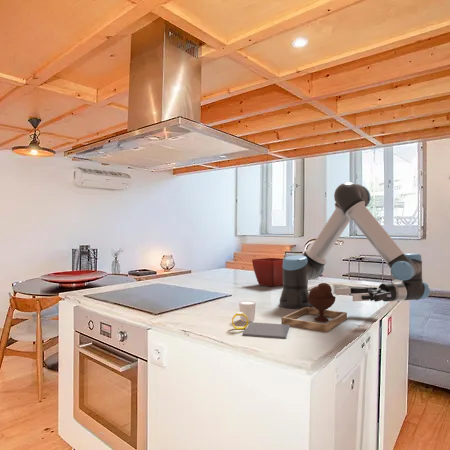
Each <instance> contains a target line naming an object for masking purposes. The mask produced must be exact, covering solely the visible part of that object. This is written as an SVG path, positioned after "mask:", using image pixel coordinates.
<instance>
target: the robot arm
mask: <svg viewBox="0 0 450 450" xmlns="http://www.w3.org/2000/svg"><path fill="white" fill-rule="evenodd" d="M333 198H334V201H335V203H334V208H335V209H334V211H333V212H332V214H331V216H330V217H329V218H328V220H327V222H326V223H325V225H324V227H323V228H322V230H321V231H320V233H319V234H318V236H317V238H316V239H315V241H314V242H313V244H312V245H311V246H310V248H307V249H305V250H304V253H303V254H302V255H301V254H300V255H299V254H298V255H288V256H285V257H284V258H282V259H283V265H282V267H283V285H282V291H281V294H280V296H279V306H281V307H282V308H288V309H302V308H304V307H309V308H312V307H313V306H312V305H311V304H310V303H309V301H308V299H307V296H308V295H309V292H310V291H309V290H308V288H309V287H308V286H309V285H308V283H309V282H308V281H312V280H316V279H318V278H319V277H320V276H321V275H322V274H323V273H324V270H325V265H326V264H327V260H326V258H327V256H328V254H329V253H330V252H331V251H332V249H333V247H334V246H335V245H336V242H337V241H338V240H339V239H340V237H341V236H342V234H343V232H344V231H345V229H346V228H347V226H348V225H349V223H350V222H351V220H352V222H353V223H354V224H355V225H356V227H357V228H358V229H359V231H361V233H362V234H363V235H364V237H365V238H366V240H368V242H369V243H370V244H371V246H372V247H373V248H374V249H375V251H376V252H377V253H378V255H379V256H380V257H381V258H382V259H383V261H384V262H385V263H386V264H387V266H388V267H389V268H390V273H391V276H392V277H393V278H394V279H396V280H397V282H383V283H380V284H379V286H378V287H377V286H376V287H375V286H374V287H372V286H365V287H364V286H348V287H339V288H337V287H335V295H336V296H343V295H349V296H351V295H352V302H363V301H365V302H366V301H367V302H368V301H371V302H375V303H376V302H380V301H383V302H384V303H385V302H396V303H400V301H418V300H424V299H427V298H428V297H429V296H430V293H431V291H430V288H429V285H428V283H426V282H425V281H424V280H423V260H422V255H421V254H420V253H415V252H414V253H411V252H410V253H409V252H408V253H404V252H403V250H402V249H401V248H400V247H399V246H398V245H397V243H396V242H395V241H394V240H393V238H392V237H391V236H390V235H389V234H388V232H387V231H386V230H385V228H383V226H382V225H381V223H379V221H378V220H377V219H376V217H375V216H374V215H373V214H372V213H371V211H370V210H369V209H368V208H367V207H368V206H369V204H370V202H371V200H372V199H371V193H370V191H369V190H368V187H365V186H363V185H362V184H359V183H353V182H343V183H341V184H339V185H338V186H337V187H336V189H335V190H334V194H333ZM398 281H399V282H398Z"/></svg>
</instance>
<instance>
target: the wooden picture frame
mask: <svg viewBox="0 0 450 450" xmlns="http://www.w3.org/2000/svg"><path fill="white" fill-rule="evenodd" d="M306 314H309V315H316V316H319V310H318V309H316V308H314V307H304V308H299V309H298V310H296V311H292V312H291V313H289V314H286V315H284V316H282V317H281V318H280V319H281V320H280V321H281V323H280V324H287V325H290V327H291V326H292V327H298V328H303V329H309V330H314V331H321V332H326V333H327V332H329V331H330V330H332V329H333V328H335V327H336V326H338V325H339V324H341V323H343V322H344V321H346V320H347V319H348V312H344V311H337V310H331V309H326V310H324V316H325V317H329V318H332V319H331V320H329V321H327V322H325V323H323V322H317V321H310V320H308V321H307V320H304V319H303V320H302V319H299V317H303V316H304V315H306Z"/></svg>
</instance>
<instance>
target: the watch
mask: <svg viewBox="0 0 450 450" xmlns="http://www.w3.org/2000/svg"><path fill="white" fill-rule="evenodd" d="M242 315H243V316H245V317H246V319H247V322H246V324H245V325H244V326H243V327H241V326H239V327H237V326H236V325H235V324H234V319H235V317H237V316H239V317H240V316H242ZM231 324H232V326H233V328H234V329H235V330H246V328H247V327H248V325H249V322H248V318H247V316H246V315H245V314H244V313H243V312H240V311H237V312H235V314H234V315H233V317H232V319H231Z"/></svg>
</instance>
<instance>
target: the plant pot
mask: <svg viewBox="0 0 450 450" xmlns="http://www.w3.org/2000/svg"><path fill="white" fill-rule="evenodd" d="M283 259H284V258H276V257H267V258H266V257H265V258H254V259H253V258H252V259H251V261H252V262H251V263H252V268H253V272H254V276H255V279H256V281H257V283H258V285H259V284H260V286H266V287H273V288H274V287H281V286H283V267H282V265H283Z"/></svg>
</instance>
